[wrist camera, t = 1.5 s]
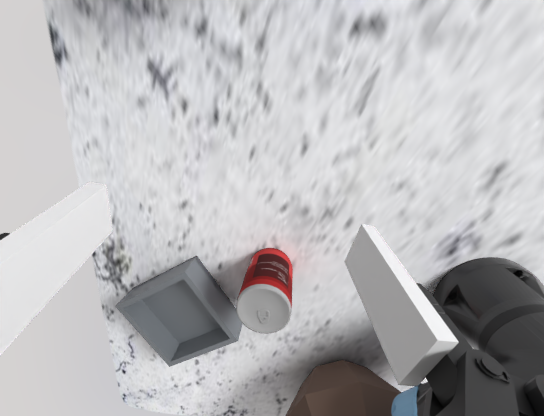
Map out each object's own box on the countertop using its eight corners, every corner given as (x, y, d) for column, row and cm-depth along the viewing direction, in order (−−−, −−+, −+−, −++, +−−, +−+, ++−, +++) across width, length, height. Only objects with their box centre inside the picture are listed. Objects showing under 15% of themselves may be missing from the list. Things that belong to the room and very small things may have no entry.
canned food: (259, 289, 45) (248, 339, 35) (242, 253, 43) (226, 294, 33) (299, 279, 44) (299, 327, 34) (283, 241, 42) (279, 280, 31)
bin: (243, 319, 48) (237, 340, 43) (181, 344, 52) (169, 366, 47) (196, 255, 44) (184, 271, 40) (133, 288, 48) (115, 306, 44)
